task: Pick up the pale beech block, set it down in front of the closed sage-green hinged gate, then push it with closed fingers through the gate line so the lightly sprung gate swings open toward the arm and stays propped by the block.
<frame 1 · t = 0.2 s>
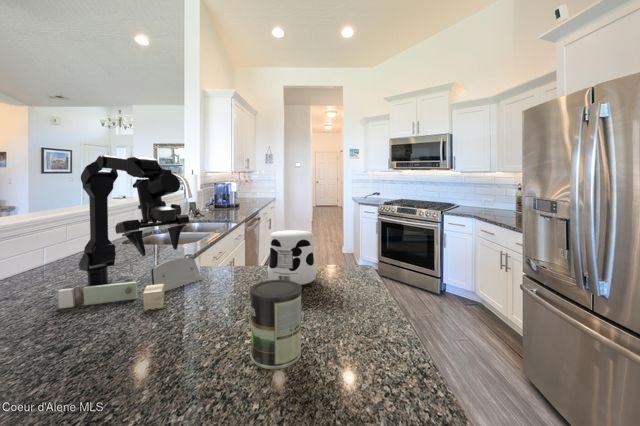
hand: (160, 252, 85), 15 cm above the countertop, tool pointing down, fingers open, 9 cm apart
block: (154, 305, 85), on the countertop
wall stub: (67, 306, 84), on the countertop
milk container: (292, 283, 105), on the countertop
door: (110, 293, 87), point 3 cm above the countertop, hinge at 0.0°
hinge: (176, 284, 104), on the countertop
gate post: (79, 305, 85), on the countertop
coffee can: (276, 355, 60), on the countertop
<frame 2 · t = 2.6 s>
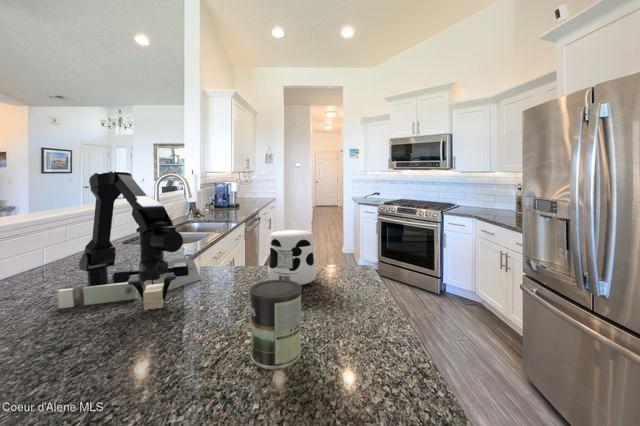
hand: (154, 301, 85), 1 cm above the countertop, tool pointing down, fingers closed on block, 4 cm apart
block: (154, 304, 85), on the countertop, touching gripper
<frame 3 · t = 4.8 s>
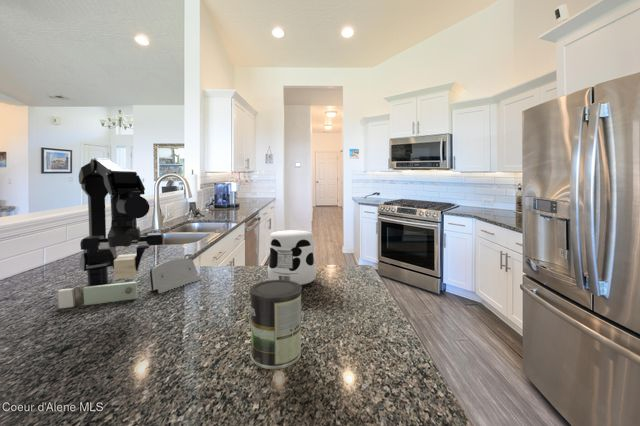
hand: (126, 270, 82), 11 cm above the countertop, tool pointing down, fingers closed on block, 4 cm apart
block: (127, 274, 82), point 10 cm above the countertop, touching gripper
when the fingers open (1 cm above the countertop, at t = 7.4 s): block stays where it is, on the countertop.
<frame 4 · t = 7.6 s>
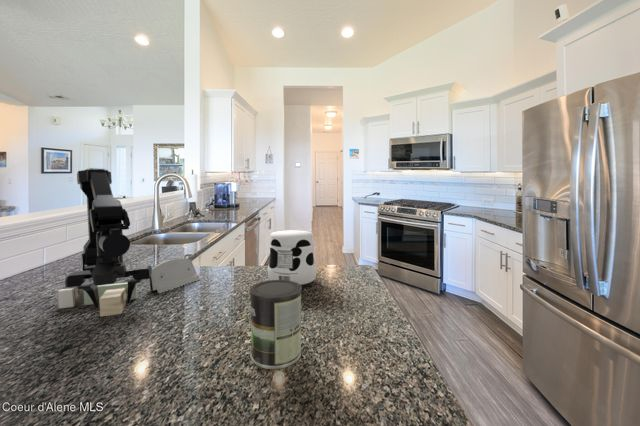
hand: (113, 305, 81), 1 cm above the countertop, tool pointing down, fingers open, 7 cm apart
block: (113, 310, 82), on the countertop
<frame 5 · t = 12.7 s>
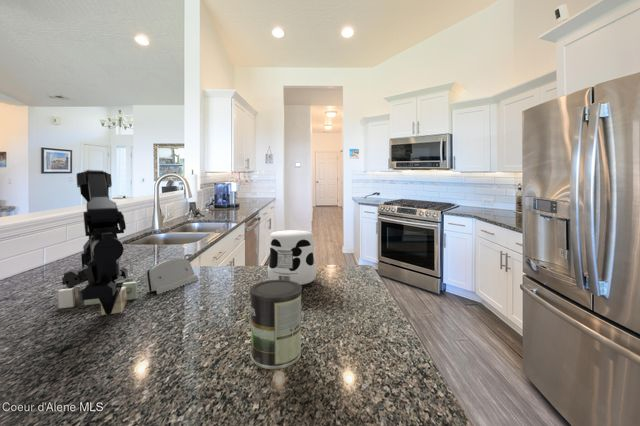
hand: (108, 313, 77), 1 cm above the countertop, tool pointing down, fingers closed
block: (114, 308, 82), on the countertop, touching gripper
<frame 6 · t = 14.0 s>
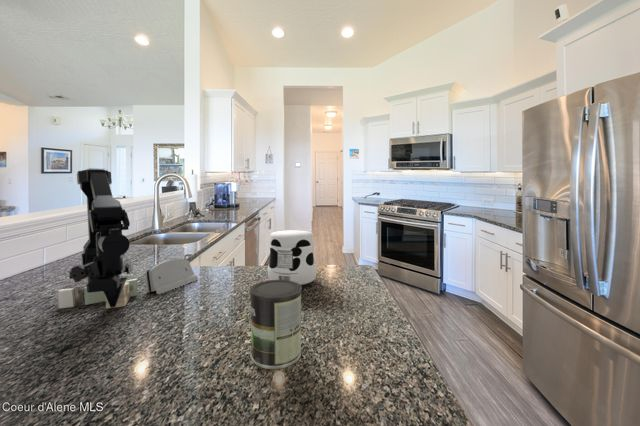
hand: (113, 306, 81), 1 cm above the countertop, tool pointing down, fingers closed
block: (118, 303, 86), on the countertop, touching door, gripper
door: (112, 291, 89), point 3 cm above the countertop, hinge at 12.5°, touching block
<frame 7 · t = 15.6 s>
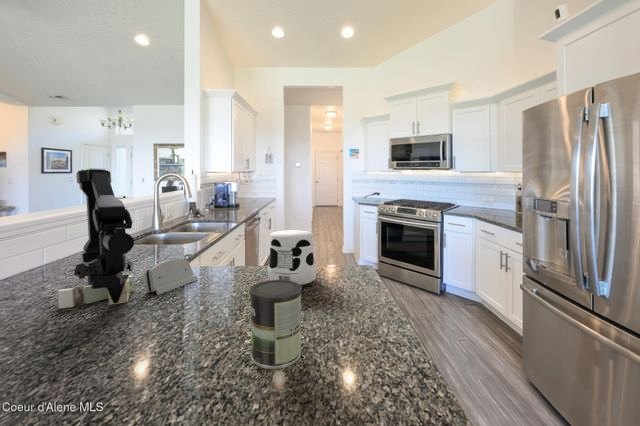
hand: (115, 302, 84), 1 cm above the countertop, tool pointing down, fingers closed
block: (120, 299, 89), on the countertop, touching door, gripper
door: (110, 289, 91), point 3 cm above the countertop, hinge at 33.1°, touching block
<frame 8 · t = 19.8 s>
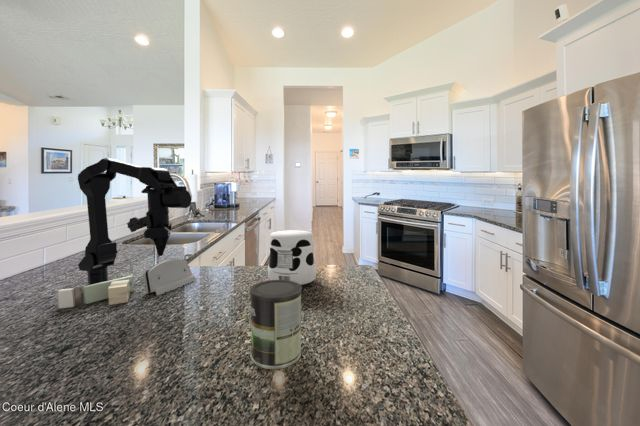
hand: (160, 255, 95), 12 cm above the countertop, tool pointing down, fingers closed
block: (120, 299, 89), on the countertop
door: (110, 289, 91), point 3 cm above the countertop, hinge at 33.5°
at the end: door at +34° (first picture: +0°); block inside the target area (1.2 cm from its centre), on the countertop; the gripper is holding nothing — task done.
